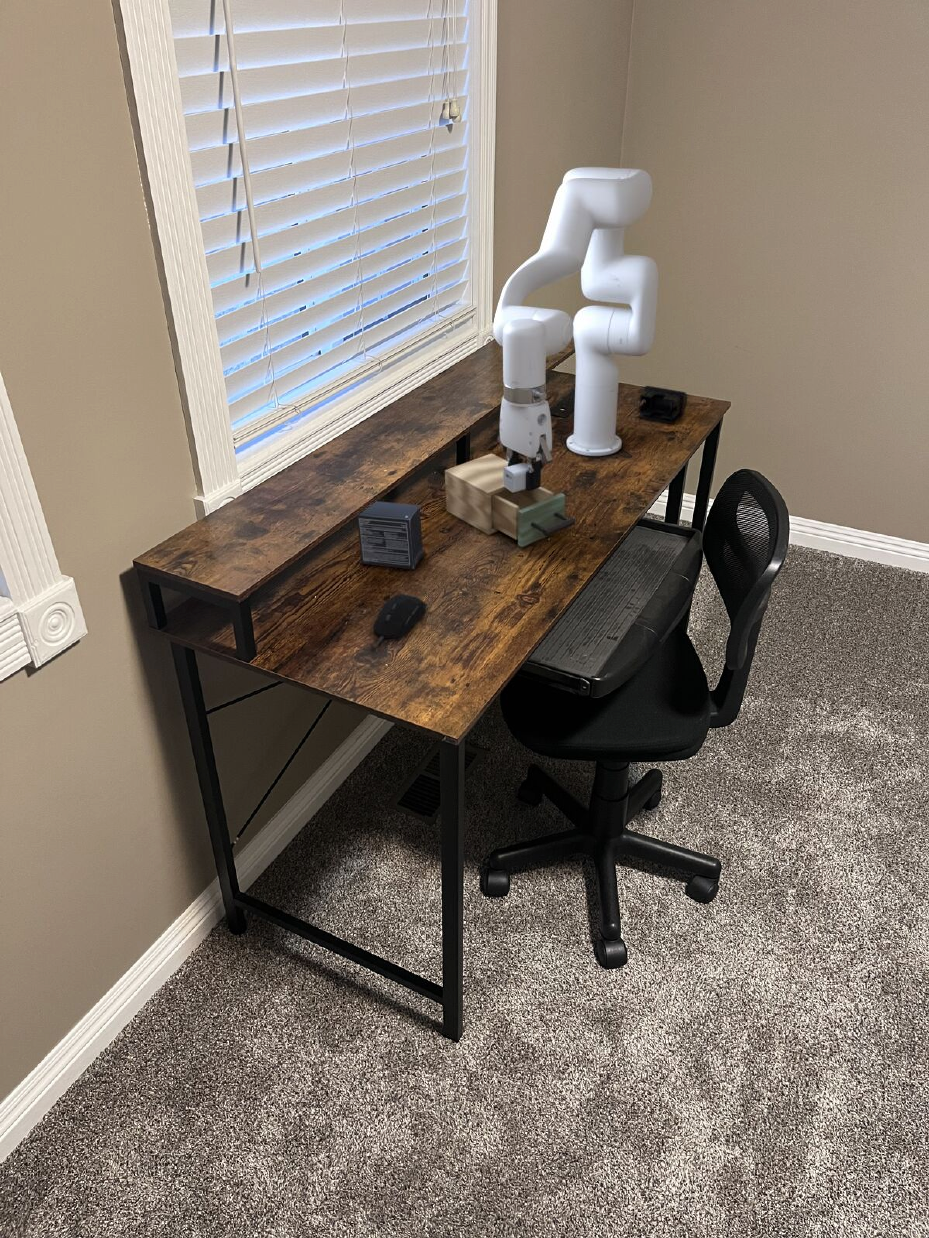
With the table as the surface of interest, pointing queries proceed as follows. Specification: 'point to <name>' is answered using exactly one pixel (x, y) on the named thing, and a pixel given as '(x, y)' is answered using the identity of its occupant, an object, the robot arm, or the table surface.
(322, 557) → the table surface
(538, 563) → the table surface
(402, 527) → the small box
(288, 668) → the table surface
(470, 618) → the table surface
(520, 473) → the usb wall charger
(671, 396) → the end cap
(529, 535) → the drawer
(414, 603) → the gaming mouse
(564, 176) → the robot arm
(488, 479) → the cabinet
